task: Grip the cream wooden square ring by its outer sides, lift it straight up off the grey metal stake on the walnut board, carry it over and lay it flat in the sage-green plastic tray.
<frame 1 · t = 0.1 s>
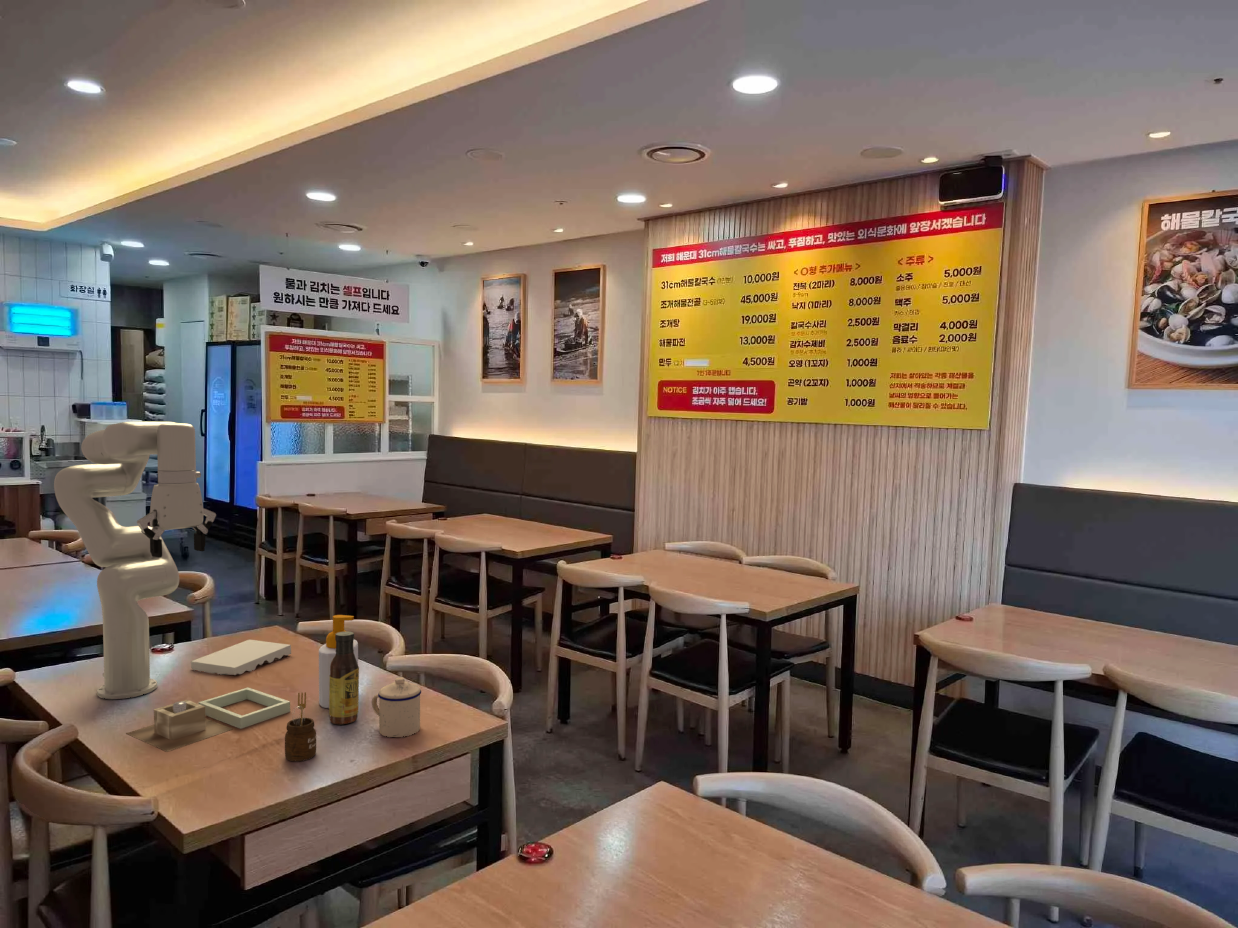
hand: (178, 553, 181), 37 cm above the table, tool pointing down, fingers open, 9 cm apart
utensil holder: (300, 756, 162), on the table
stake: (179, 717, 169), on the stake board, point 4 cm above the table
soap bottle: (338, 699, 194), on the table
teacup with lid: (394, 730, 176), on the table
cream wavy-edged slab: (242, 664, 220), on the table
stake board: (180, 737, 170), on the table
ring: (180, 730, 170), point 1 cm above the table, touching stake board
sauce bottle: (344, 721, 181), on the table
tray: (244, 718, 181), on the table
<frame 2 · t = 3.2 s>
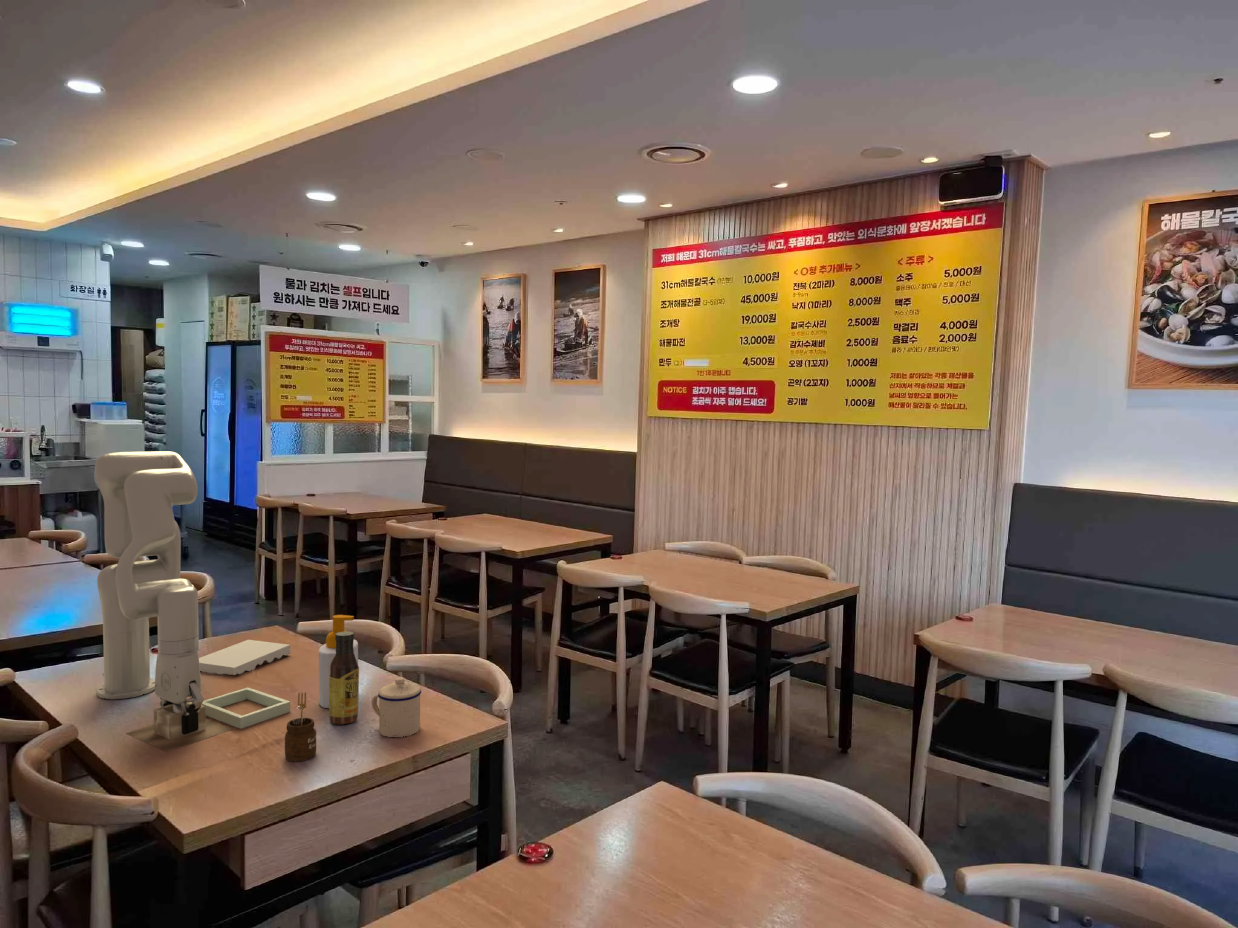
hand: (180, 727, 170), 2 cm above the table, tool pointing down, fingers closed on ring, 7 cm apart
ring: (180, 730, 170), point 1 cm above the table, touching gripper, stake board
everything else where it was.
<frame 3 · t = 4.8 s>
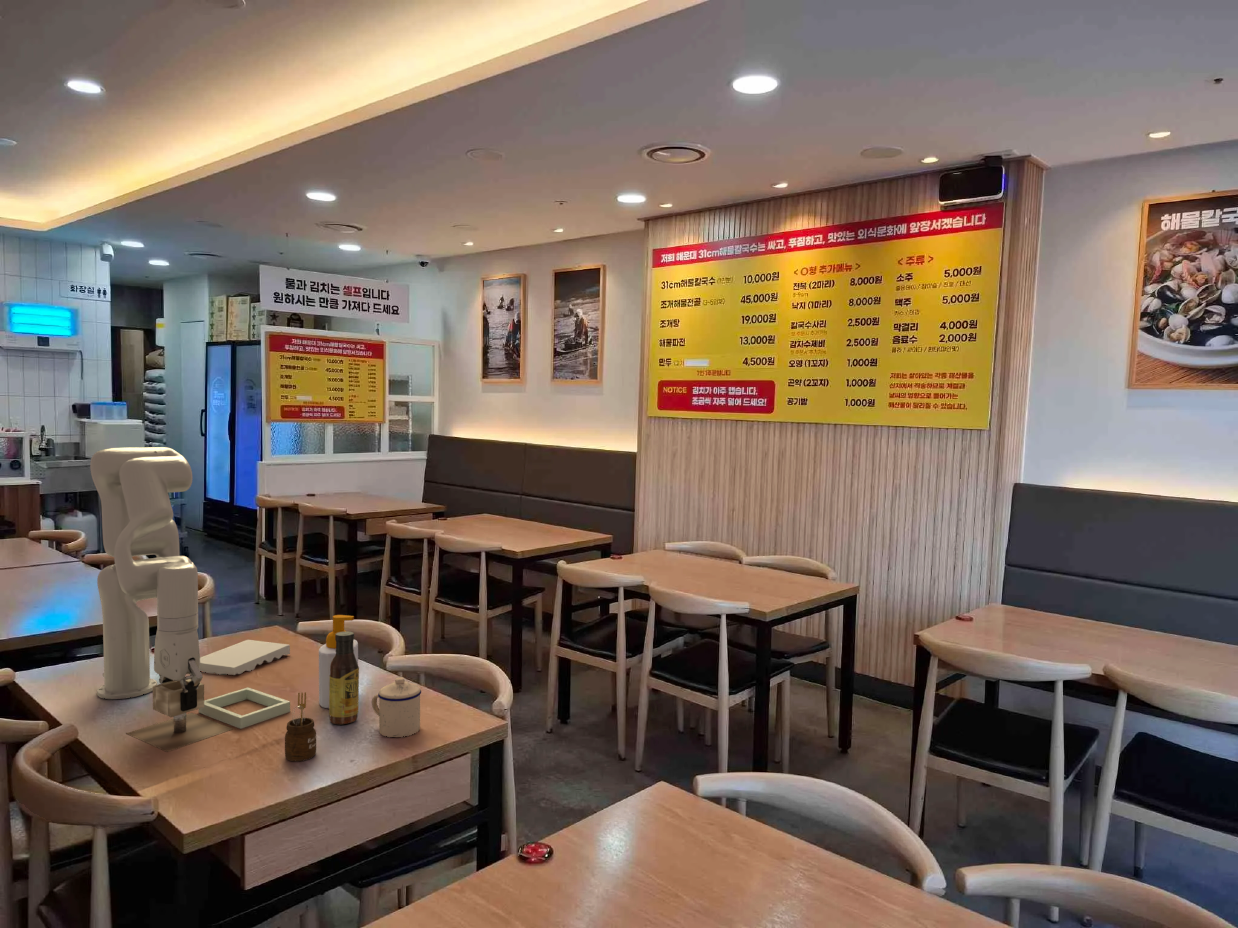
hand: (178, 704, 170), 7 cm above the table, tool pointing down, fingers closed on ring, 7 cm apart
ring: (178, 707, 170), point 6 cm above the table, touching gripper
everything else where it was.
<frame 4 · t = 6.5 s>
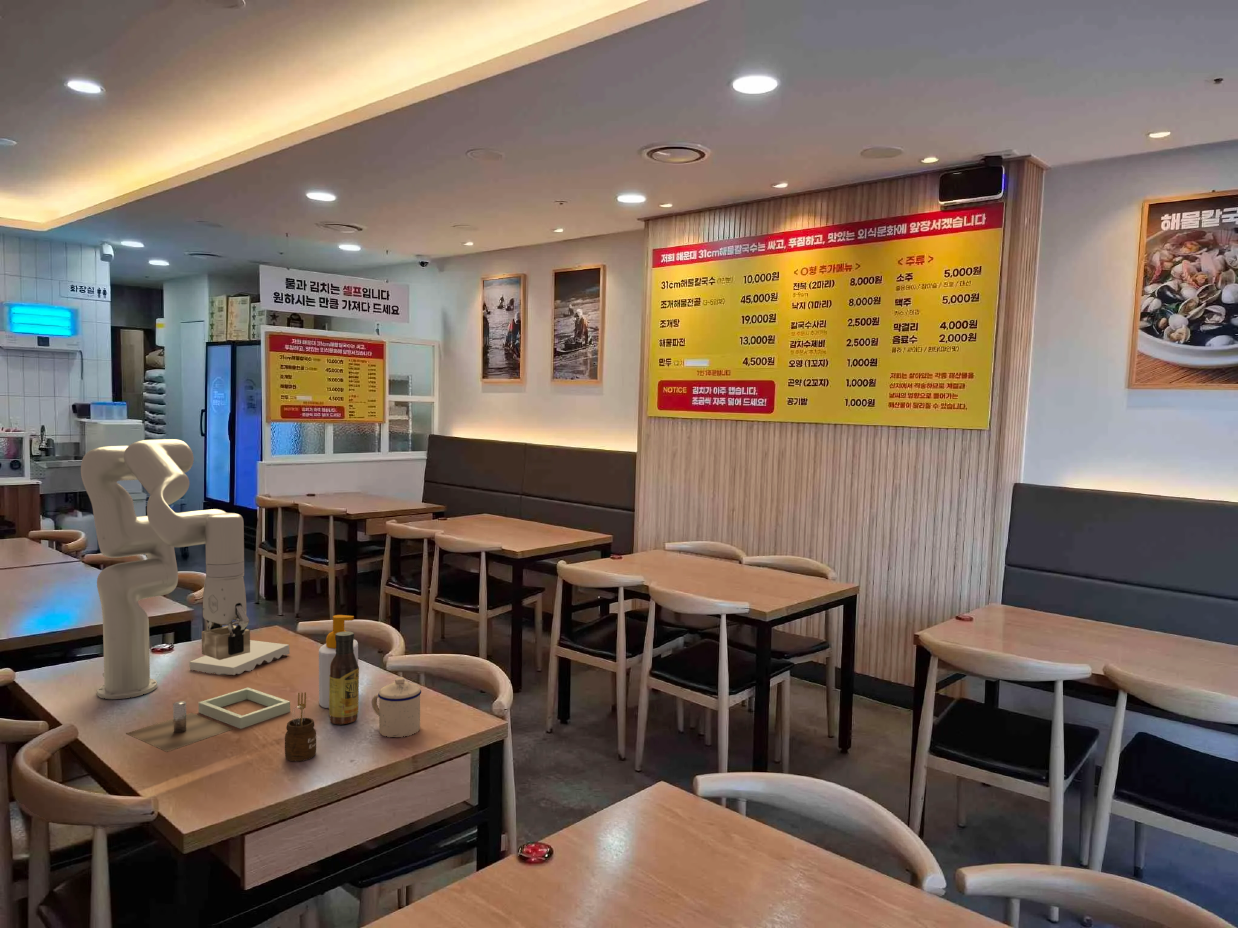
hand: (226, 649, 177), 17 cm above the table, tool pointing down, fingers closed on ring, 7 cm apart
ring: (226, 653, 177), point 16 cm above the table, touching gripper
everything else where it was.
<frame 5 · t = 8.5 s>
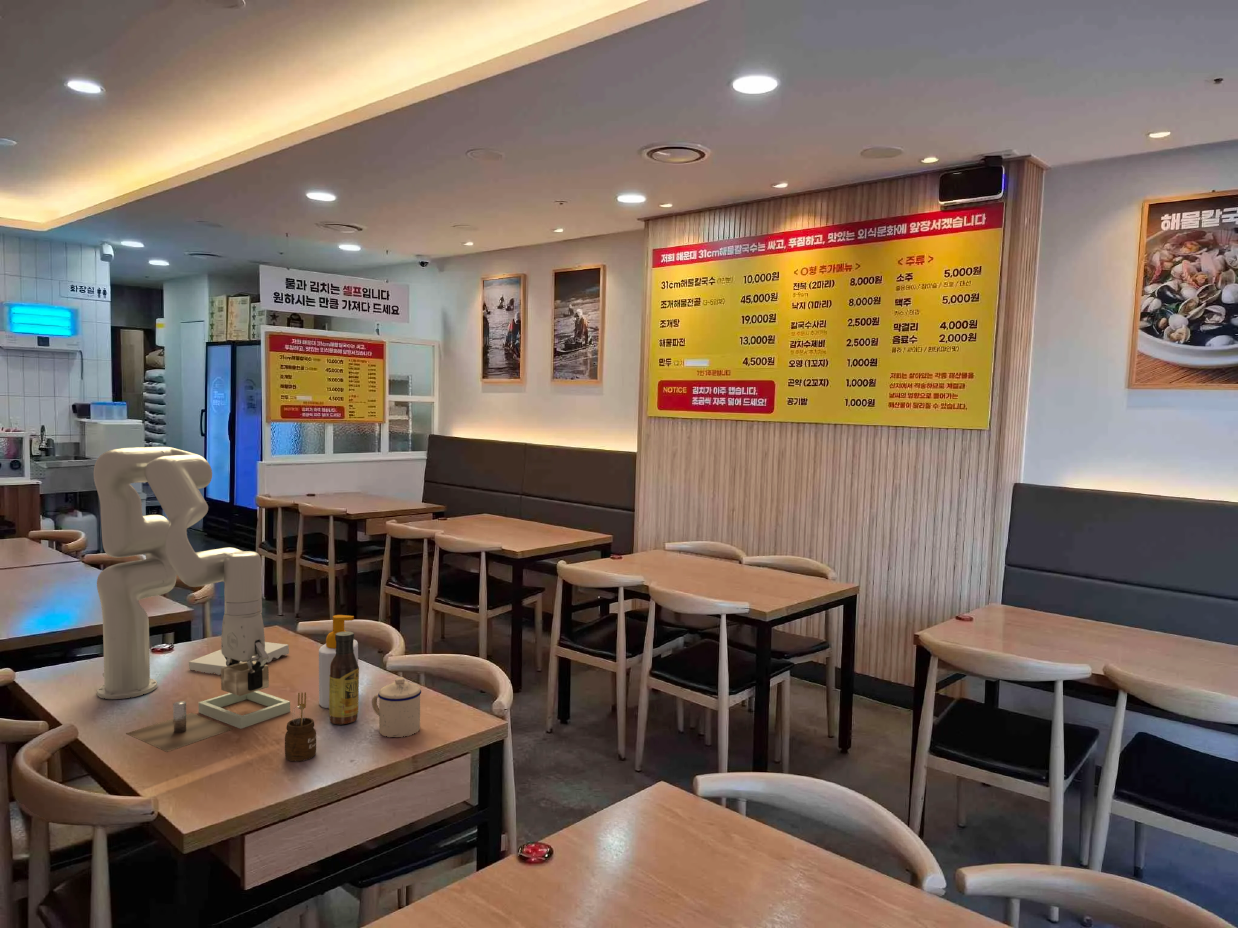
hand: (245, 684, 180), 8 cm above the table, tool pointing down, fingers closed on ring, 7 cm apart
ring: (245, 688, 180), point 7 cm above the table, touching gripper
everything else where it was.
when the fingers open (3 cm above the table, at t = 9.9 s): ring drops 2 cm, resting on tray.
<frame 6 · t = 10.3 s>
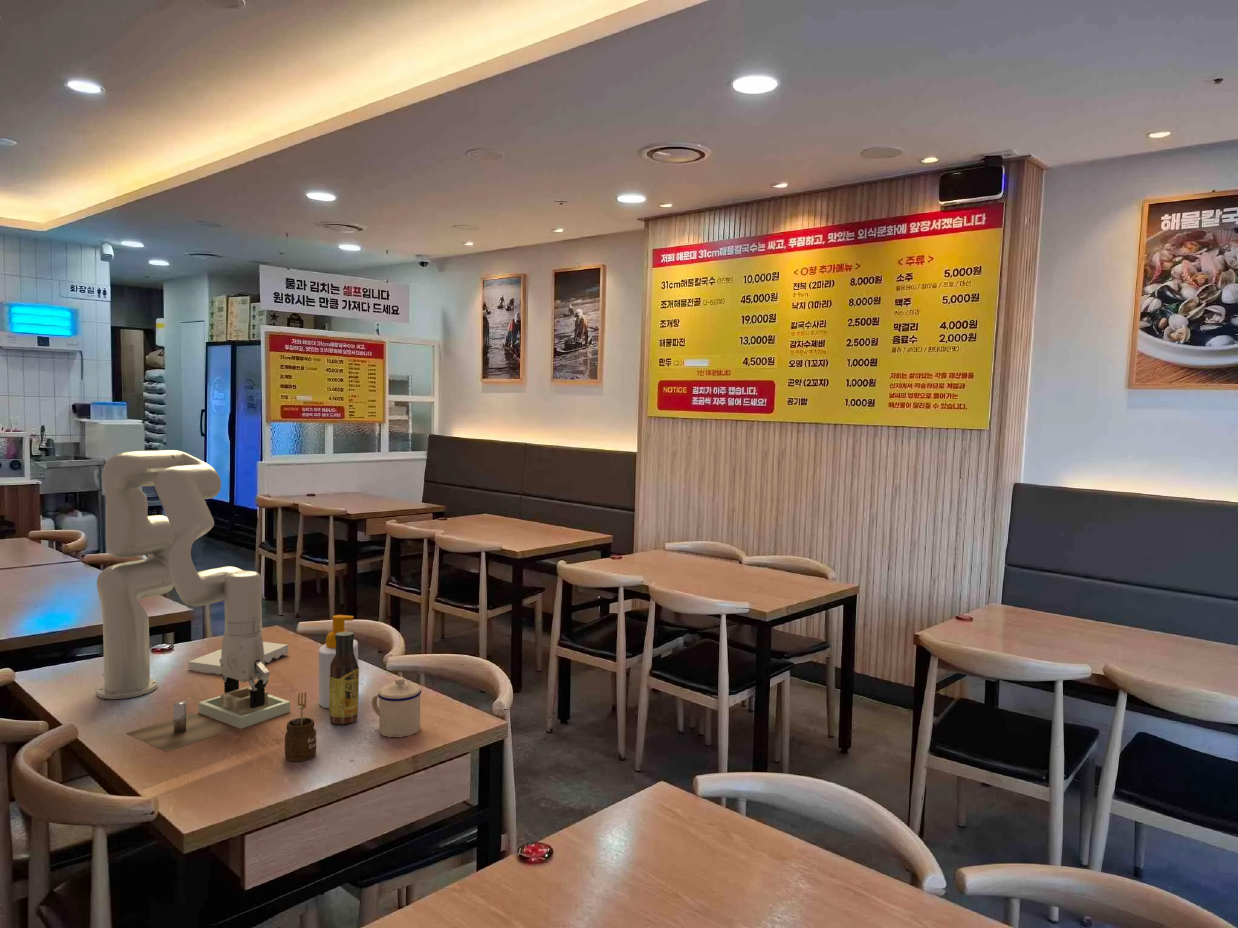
hand: (244, 701, 181), 4 cm above the table, tool pointing down, fingers open, 9 cm apart
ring: (244, 714, 181), point 1 cm above the table, touching tray
everything else where it was.
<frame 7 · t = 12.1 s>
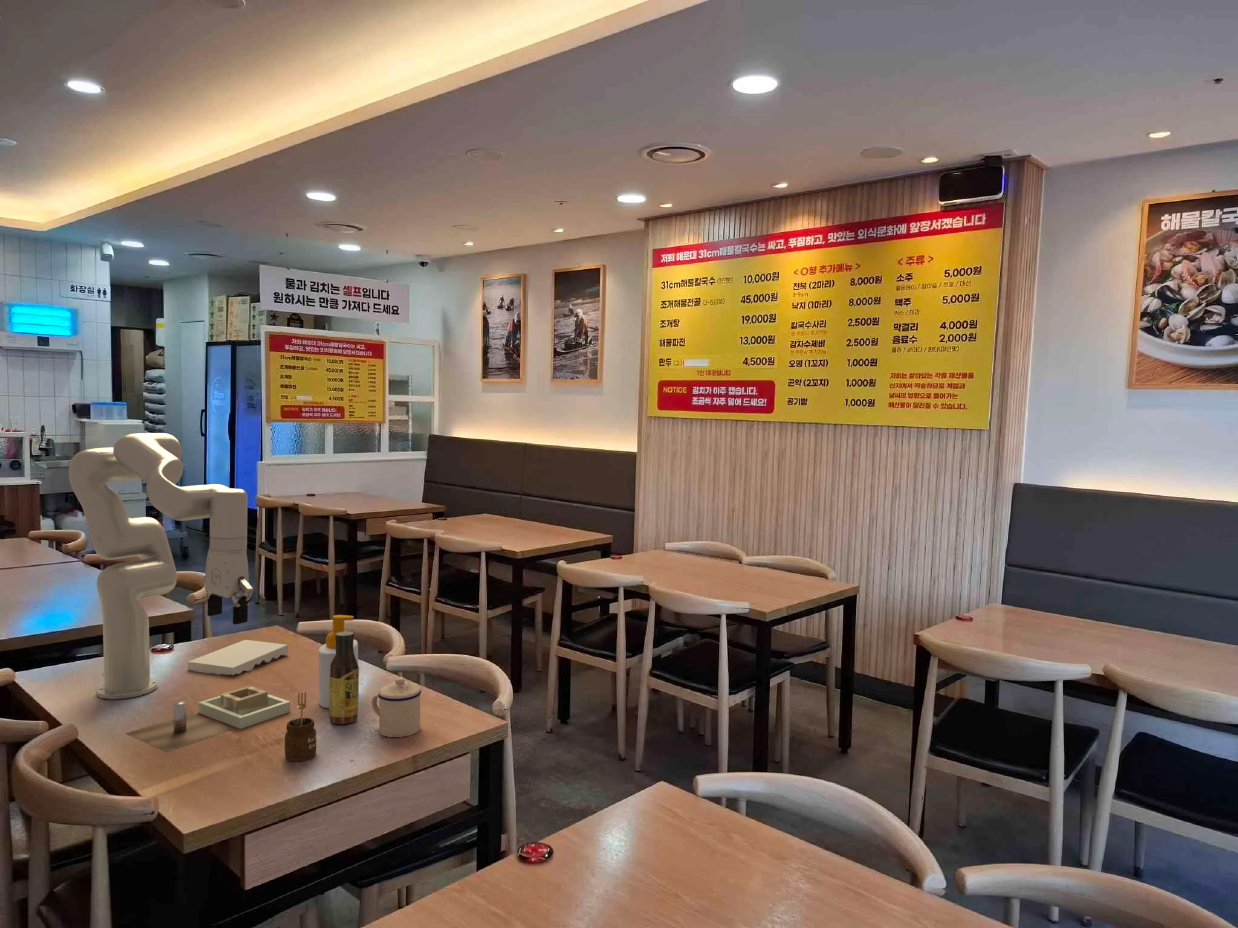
hand: (227, 618, 181), 22 cm above the table, tool pointing down, fingers open, 9 cm apart
nothing on the table moved.
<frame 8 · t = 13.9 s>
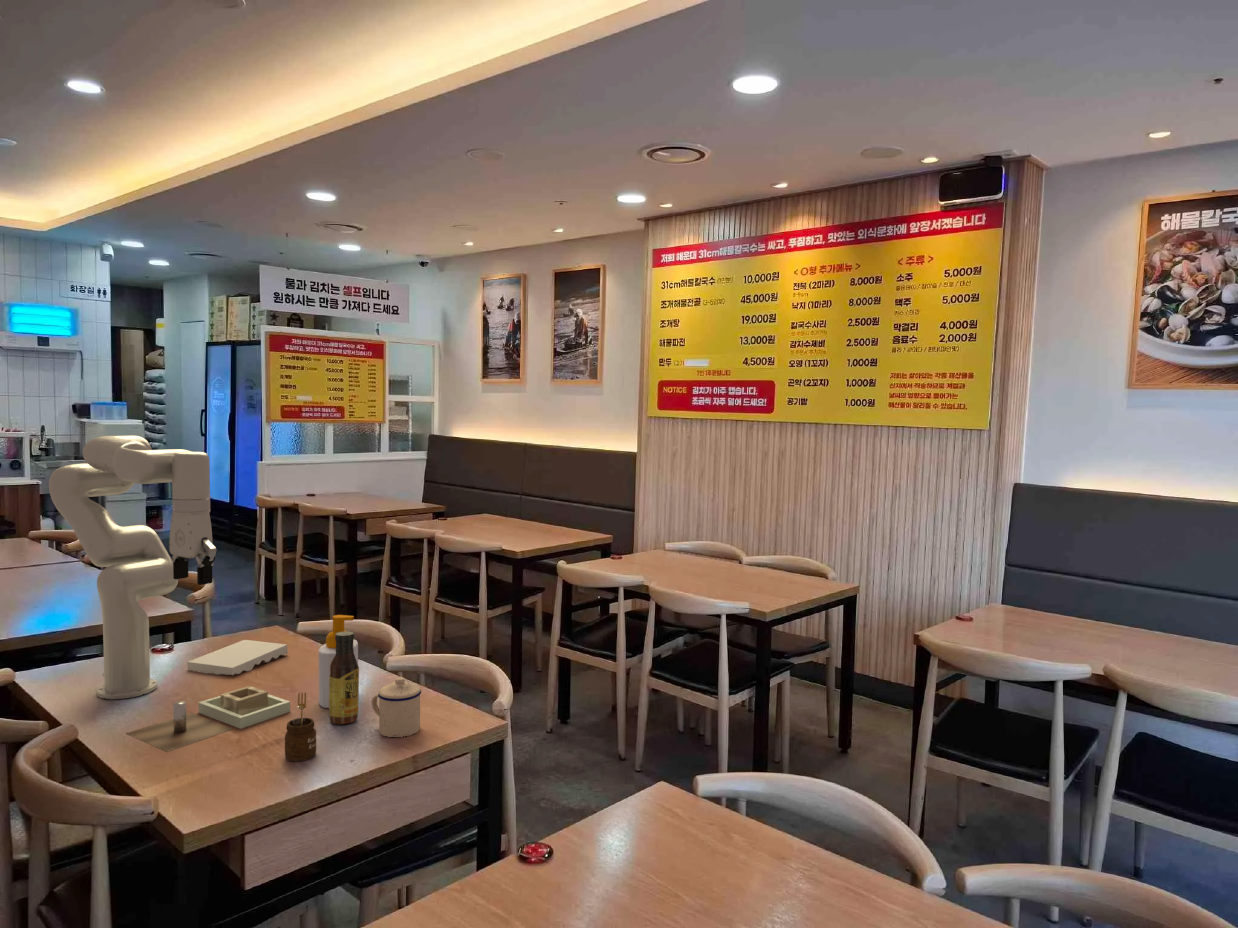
hand: (192, 581, 183), 30 cm above the table, tool pointing down, fingers open, 9 cm apart
nothing on the table moved.
at the end: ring inside the target area on the tray (0.0 cm from its centre), point 0.8 cm above the tray's base; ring tilted 0°; the gripper is holding nothing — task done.
